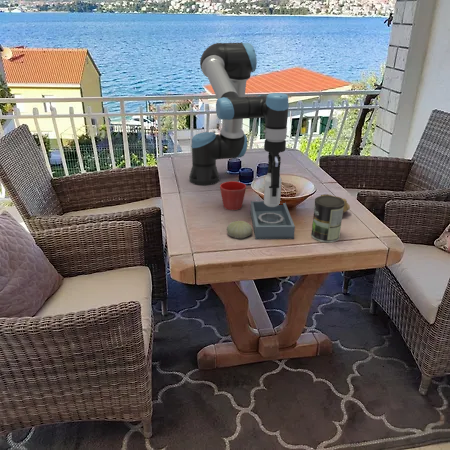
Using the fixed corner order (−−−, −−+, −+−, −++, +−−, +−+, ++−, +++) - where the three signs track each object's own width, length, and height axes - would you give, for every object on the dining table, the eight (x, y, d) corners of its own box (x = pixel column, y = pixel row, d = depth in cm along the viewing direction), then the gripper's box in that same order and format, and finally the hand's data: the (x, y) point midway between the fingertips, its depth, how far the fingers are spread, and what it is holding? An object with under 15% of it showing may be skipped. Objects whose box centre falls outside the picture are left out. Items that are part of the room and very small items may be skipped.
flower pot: (243, 212, 168) (244, 190, 164) (217, 210, 170) (217, 188, 166) (247, 203, 177) (248, 182, 173) (222, 201, 179) (222, 180, 175)
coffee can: (312, 242, 145) (316, 205, 139) (310, 229, 154) (313, 194, 148) (341, 243, 144) (346, 207, 138) (337, 230, 153) (342, 196, 147)
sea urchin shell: (226, 223, 155) (241, 210, 151) (241, 237, 156) (256, 225, 153) (222, 233, 147) (238, 221, 143) (237, 248, 148) (253, 236, 145)
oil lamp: (324, 203, 177) (326, 186, 174) (354, 214, 167) (357, 196, 164) (308, 210, 171) (310, 192, 168) (339, 221, 161) (341, 202, 157)
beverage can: (262, 207, 152) (264, 176, 147) (264, 201, 157) (265, 171, 152) (279, 208, 151) (281, 177, 146) (280, 202, 156) (282, 172, 151)
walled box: (250, 212, 168) (250, 201, 166) (283, 212, 169) (284, 201, 167) (255, 239, 147) (255, 226, 145) (293, 238, 147) (294, 226, 145)
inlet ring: (256, 217, 162) (256, 212, 161) (281, 217, 162) (281, 212, 161) (259, 227, 153) (259, 223, 152) (285, 227, 153) (285, 222, 152)
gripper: (261, 133, 152) (259, 191, 162) (267, 146, 135) (264, 210, 144) (281, 133, 152) (278, 191, 162) (290, 146, 135) (285, 210, 145)
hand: (272, 200), depth 153 cm, fingers closed on beverage can, 6 cm apart
